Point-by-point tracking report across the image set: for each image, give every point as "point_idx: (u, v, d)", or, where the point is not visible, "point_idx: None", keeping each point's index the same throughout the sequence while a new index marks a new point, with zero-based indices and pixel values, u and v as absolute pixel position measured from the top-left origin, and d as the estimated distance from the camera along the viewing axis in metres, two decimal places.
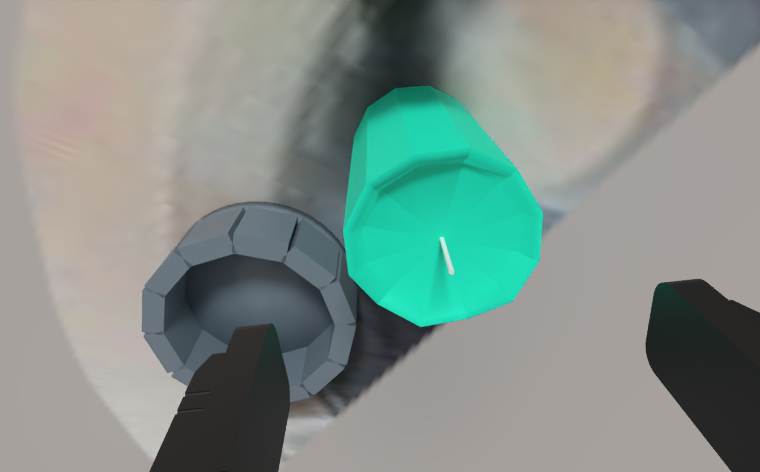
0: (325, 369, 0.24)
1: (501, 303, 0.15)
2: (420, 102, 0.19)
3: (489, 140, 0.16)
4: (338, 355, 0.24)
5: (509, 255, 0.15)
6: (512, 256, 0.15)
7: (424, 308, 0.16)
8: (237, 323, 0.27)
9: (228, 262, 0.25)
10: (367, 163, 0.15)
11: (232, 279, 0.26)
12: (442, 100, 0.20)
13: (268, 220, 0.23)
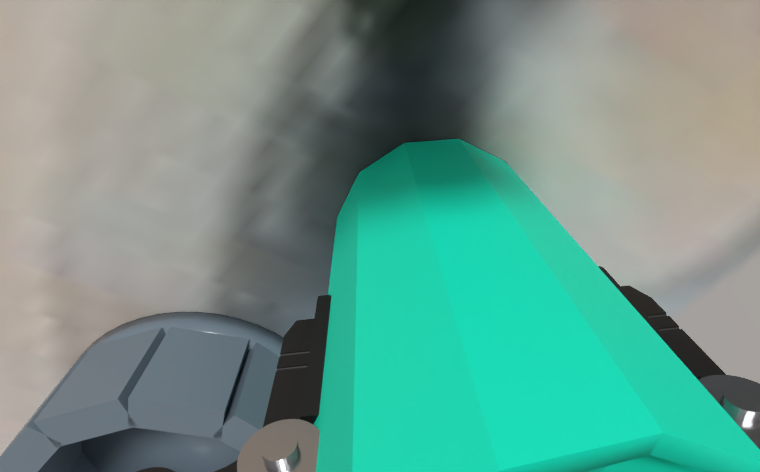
0: None
1: None
2: (455, 187, 0.10)
3: (626, 306, 0.07)
4: None
5: None
6: None
7: None
8: None
9: None
10: (356, 389, 0.06)
11: None
12: (492, 178, 0.11)
13: (196, 356, 0.14)
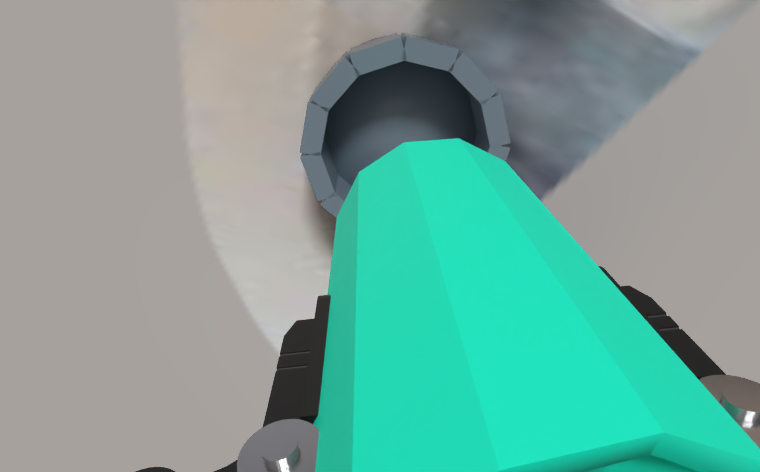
0: None
1: None
2: (455, 186, 0.10)
3: (626, 306, 0.07)
4: None
5: None
6: None
7: None
8: None
9: (373, 96, 0.25)
10: (356, 388, 0.06)
11: (374, 117, 0.26)
12: (492, 177, 0.11)
13: (426, 39, 0.23)
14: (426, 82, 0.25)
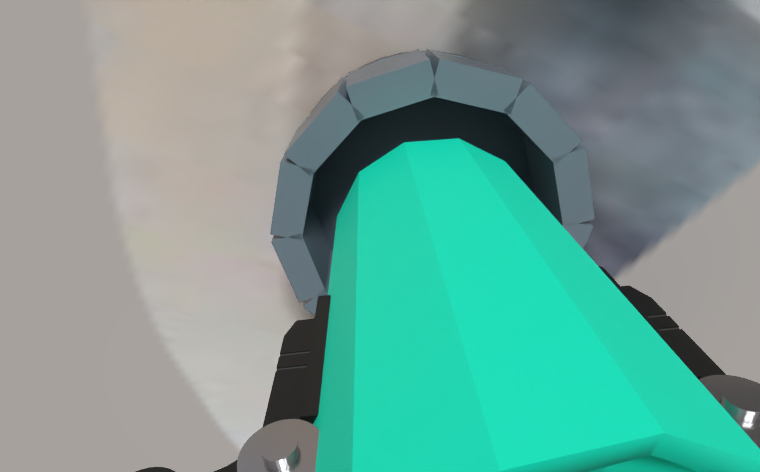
0: None
1: None
2: (455, 186, 0.10)
3: (626, 306, 0.07)
4: None
5: None
6: None
7: None
8: None
9: (382, 142, 0.17)
10: (356, 388, 0.06)
11: None
12: (492, 177, 0.11)
13: (466, 61, 0.15)
14: (461, 122, 0.17)
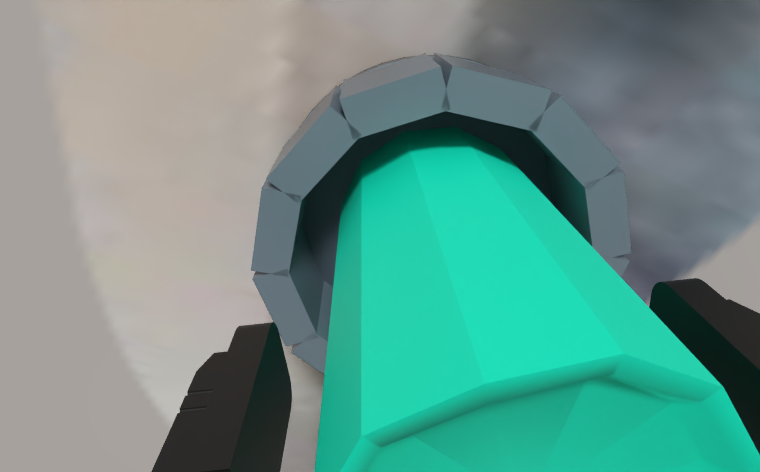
0: None
1: None
2: (451, 168, 0.11)
3: (605, 267, 0.08)
4: None
5: None
6: None
7: None
8: None
9: None
10: (363, 338, 0.07)
11: None
12: (486, 160, 0.12)
13: (482, 67, 0.13)
14: None
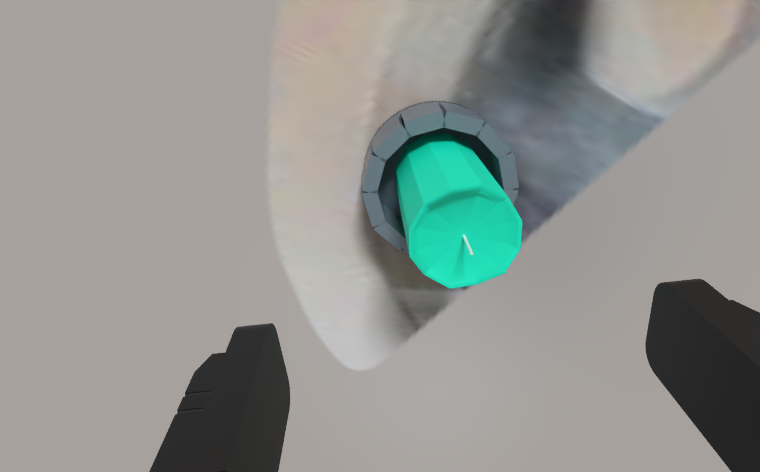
0: None
1: (498, 274, 0.26)
2: (445, 148, 0.30)
3: (491, 177, 0.26)
4: None
5: (503, 245, 0.26)
6: (504, 246, 0.26)
7: (452, 277, 0.26)
8: None
9: None
10: (420, 191, 0.25)
11: None
12: (459, 146, 0.30)
13: (459, 109, 0.31)
14: None
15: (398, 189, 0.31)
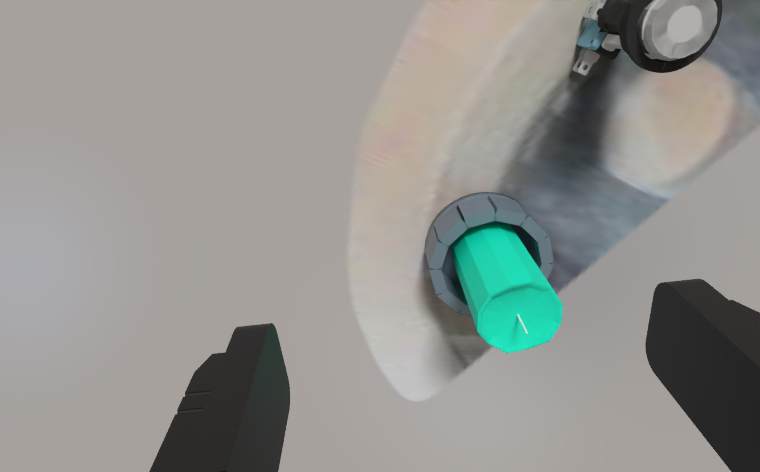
0: None
1: (543, 342, 0.34)
2: (497, 238, 0.38)
3: (536, 266, 0.35)
4: None
5: (547, 321, 0.34)
6: (548, 321, 0.34)
7: (508, 344, 0.34)
8: None
9: None
10: (484, 281, 0.34)
11: None
12: (506, 234, 0.38)
13: (505, 202, 0.39)
14: None
15: (458, 266, 0.40)
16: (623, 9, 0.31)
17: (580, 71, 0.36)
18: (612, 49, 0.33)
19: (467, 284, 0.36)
